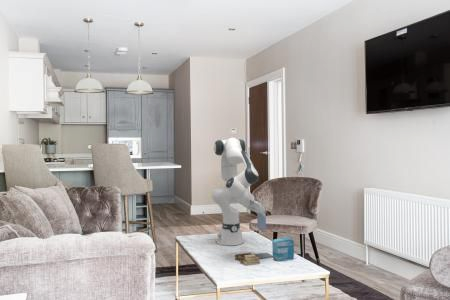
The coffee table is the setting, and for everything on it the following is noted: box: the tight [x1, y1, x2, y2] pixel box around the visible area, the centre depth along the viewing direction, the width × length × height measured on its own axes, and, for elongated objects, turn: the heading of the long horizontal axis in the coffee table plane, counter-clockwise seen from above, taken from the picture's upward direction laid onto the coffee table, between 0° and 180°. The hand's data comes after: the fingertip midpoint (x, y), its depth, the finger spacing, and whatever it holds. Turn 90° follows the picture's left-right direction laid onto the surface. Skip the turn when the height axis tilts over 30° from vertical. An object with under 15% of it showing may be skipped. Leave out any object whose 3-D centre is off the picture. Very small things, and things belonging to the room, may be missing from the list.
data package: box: [271, 237, 295, 262], centre depth 267 cm, size 12×4×12 cm, turn 113°
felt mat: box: [251, 252, 273, 260], centre depth 276 cm, size 10×11×1 cm
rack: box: [234, 252, 257, 264], centre depth 266 cm, size 10×10×3 cm
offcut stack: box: [241, 255, 261, 266], centre depth 259 cm, size 5×9×4 cm, turn 111°
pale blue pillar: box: [256, 207, 267, 231], centre depth 275 cm, size 6×3×13 cm, turn 21°
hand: (262, 214), depth 276 cm, fingers closed on pale blue pillar, 5 cm apart
